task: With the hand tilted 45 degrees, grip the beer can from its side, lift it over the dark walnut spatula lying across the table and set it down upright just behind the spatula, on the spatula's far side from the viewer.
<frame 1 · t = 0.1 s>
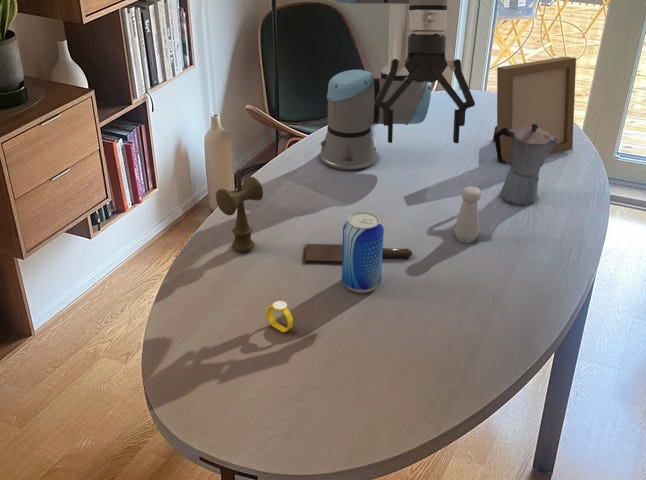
hand: (422, 142, 169), 28 cm above the table, tool tilted 20°, fingers open, 13 cm apart
photo frame: (523, 149, 231), on the table
beer can: (361, 284, 177), on the table
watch: (280, 329, 164), on the table
salt shaker: (465, 239, 192), on the table
spatula: (361, 255, 186), on the table
moka pot: (516, 198, 208), on the table
kendama: (243, 248, 188), on the table
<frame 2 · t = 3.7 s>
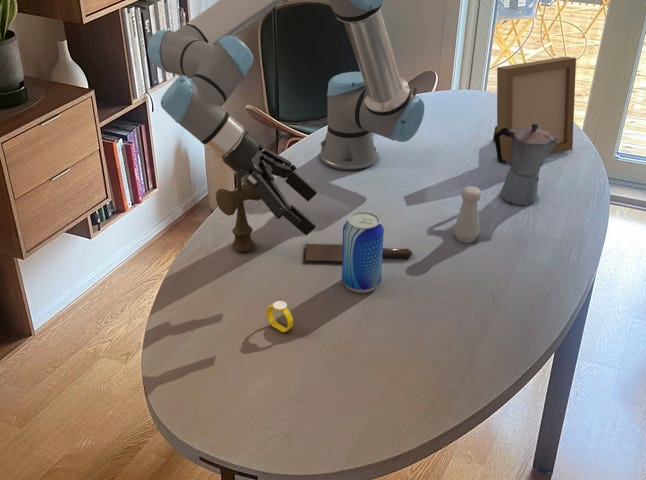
hand: (311, 213, 166), 17 cm above the table, tool tilted 45°, fingers open, 13 cm apart
nothing on the table moved.
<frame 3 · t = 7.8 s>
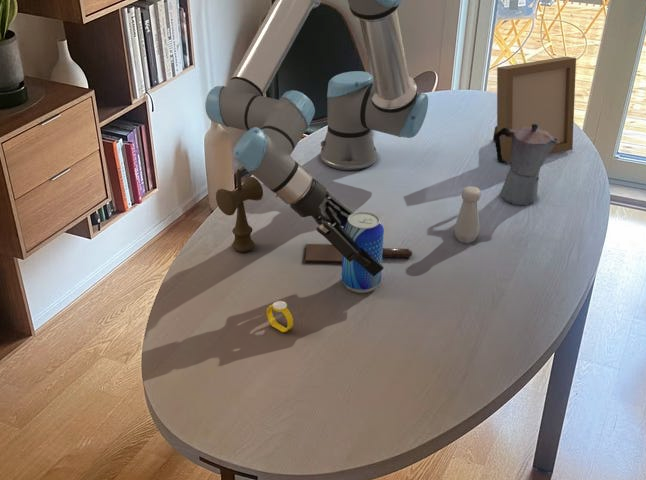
hand: (377, 259, 173), 6 cm above the table, tool tilted 45°, fingers closed on beer can, 8 cm apart
beer can: (361, 284, 177), on the table, touching gripper
everything else where it was.
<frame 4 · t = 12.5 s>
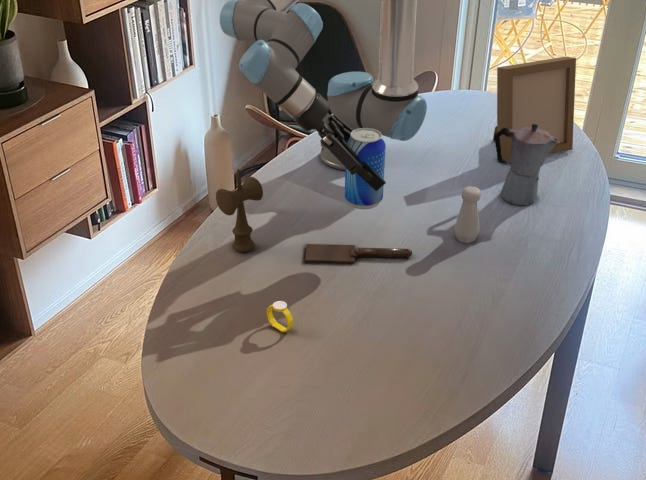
hand: (379, 176, 177), 18 cm above the table, tool tilted 45°, fingers closed on beer can, 8 cm apart
beer can: (363, 202, 181), point 12 cm above the table, touching gripper
everything else where it was.
when the fingers open (6 cm above the table, at t = 17.4 s): beer can stays where it is, on the table.
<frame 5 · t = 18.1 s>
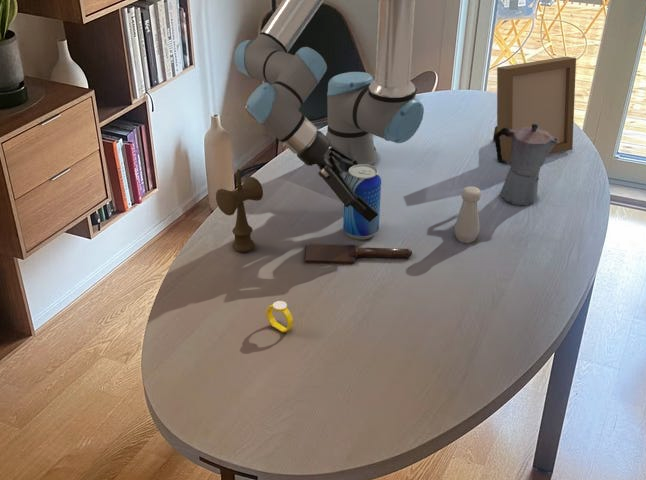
hand: (372, 202, 189), 8 cm above the table, tool tilted 45°, fingers open, 13 cm apart
beer can: (360, 232, 194), on the table
everything else where it was.
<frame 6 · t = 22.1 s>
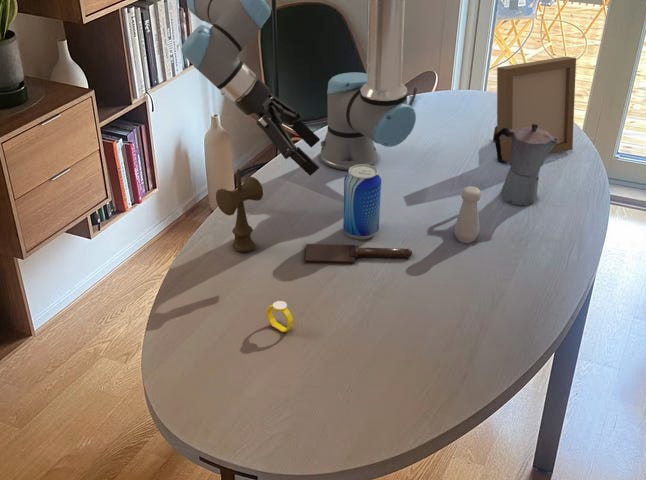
hand: (315, 157, 183), 19 cm above the table, tool tilted 45°, fingers open, 13 cm apart
nothing on the table moved.
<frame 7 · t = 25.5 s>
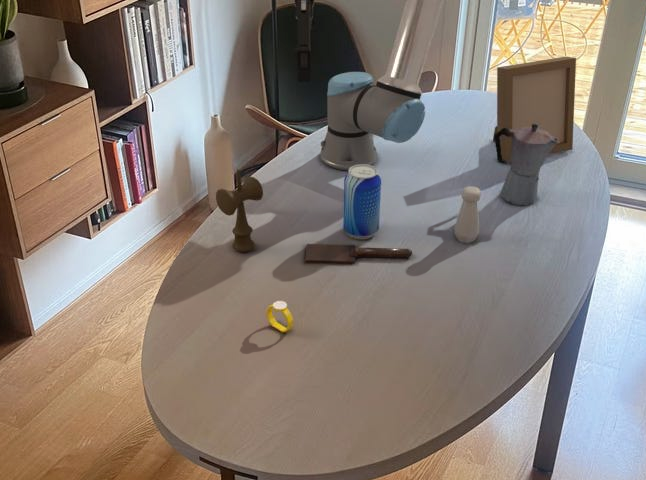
hand: (305, 69, 177), 37 cm above the table, tool pointing down, fingers open, 13 cm apart
nothing on the table moved.
at the end: beer can inside the target area on the table beside the spatula (0.3 cm from its centre), on the table; beer can tilted 0°; beer can touching table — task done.
